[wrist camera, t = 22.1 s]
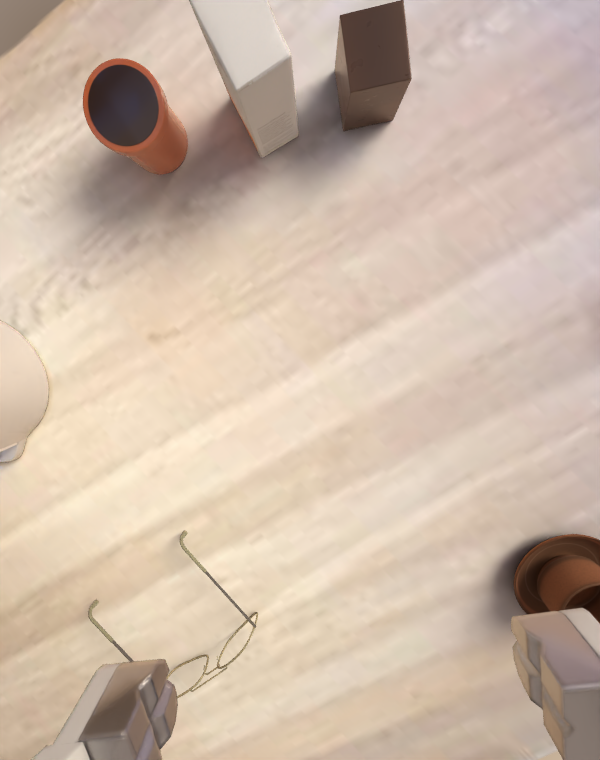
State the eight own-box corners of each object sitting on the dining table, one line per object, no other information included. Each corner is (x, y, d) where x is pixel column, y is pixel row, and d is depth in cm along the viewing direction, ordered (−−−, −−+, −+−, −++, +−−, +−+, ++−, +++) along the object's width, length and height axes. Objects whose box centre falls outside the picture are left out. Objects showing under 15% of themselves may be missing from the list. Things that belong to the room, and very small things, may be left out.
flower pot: (135, 185, 35) (96, 160, 29) (116, 111, 34) (71, 68, 27) (199, 171, 35) (173, 142, 28) (182, 96, 33) (151, 48, 27)
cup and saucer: (602, 513, 41) (652, 550, 35) (618, 599, 44) (668, 647, 38) (496, 541, 42) (527, 582, 36) (518, 623, 45) (549, 673, 39)
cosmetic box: (228, 98, 33) (183, -10, 22) (269, 71, 33) (244, -54, 21) (261, 162, 34) (234, 92, 23) (300, 137, 34) (294, 53, 22)
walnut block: (343, 131, 34) (350, 92, 27) (334, 69, 33) (339, 14, 26) (393, 120, 33) (411, 78, 27) (385, 57, 32) (403, -1, 26)
